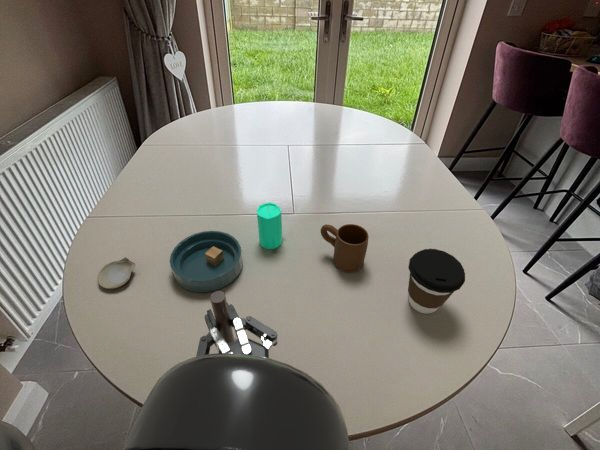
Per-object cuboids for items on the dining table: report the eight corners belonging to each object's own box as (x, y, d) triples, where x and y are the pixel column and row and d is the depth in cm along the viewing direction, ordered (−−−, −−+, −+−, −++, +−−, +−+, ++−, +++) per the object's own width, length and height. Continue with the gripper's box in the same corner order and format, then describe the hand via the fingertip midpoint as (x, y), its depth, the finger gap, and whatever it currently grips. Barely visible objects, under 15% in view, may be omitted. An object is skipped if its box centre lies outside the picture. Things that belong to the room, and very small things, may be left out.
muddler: (226, 365, 57) (212, 311, 47) (216, 350, 60) (200, 295, 49) (244, 352, 59) (234, 298, 49) (233, 338, 61) (222, 283, 51)
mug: (312, 258, 84) (313, 230, 77) (326, 240, 88) (328, 213, 82) (355, 278, 79) (361, 250, 73) (368, 258, 84) (374, 230, 78)
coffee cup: (452, 327, 69) (473, 291, 61) (399, 319, 71) (412, 283, 63) (444, 286, 78) (461, 250, 70) (396, 279, 79) (408, 243, 71)
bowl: (193, 306, 72) (189, 293, 69) (163, 262, 82) (158, 249, 79) (255, 270, 80) (254, 257, 77) (221, 235, 89) (219, 222, 87)
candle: (260, 233, 90) (257, 197, 82) (282, 233, 90) (282, 198, 82) (258, 248, 86) (254, 212, 78) (281, 249, 86) (280, 213, 78)
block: (216, 266, 80) (214, 258, 78) (206, 262, 81) (204, 253, 79) (224, 259, 82) (222, 250, 80) (214, 254, 83) (213, 246, 81)
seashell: (99, 284, 78) (111, 297, 73) (91, 275, 77) (103, 289, 72) (129, 260, 82) (143, 272, 77) (122, 252, 80) (136, 263, 75)
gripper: (306, 368, 44) (254, 279, 56) (204, 424, 39) (169, 313, 50) (304, 392, 49) (256, 306, 61) (214, 444, 44) (180, 339, 55)
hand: (217, 309), depth 55 cm, fingers closed on muddler, 2 cm apart
